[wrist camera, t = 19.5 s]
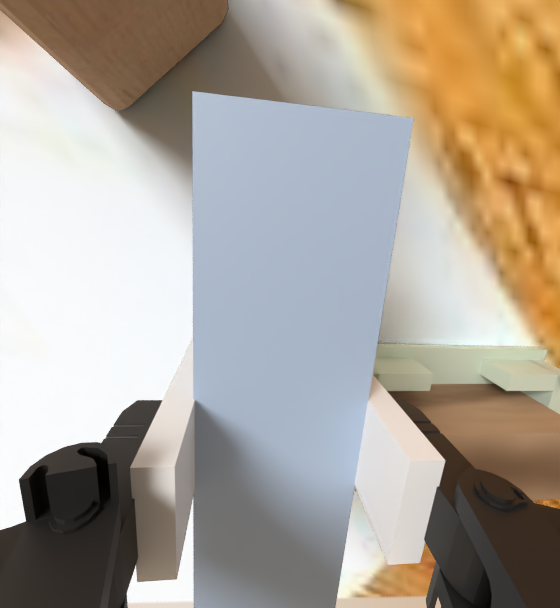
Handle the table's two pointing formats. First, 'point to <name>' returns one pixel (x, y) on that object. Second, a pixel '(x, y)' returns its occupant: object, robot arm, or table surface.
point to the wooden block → (117, 39)
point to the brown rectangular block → (497, 432)
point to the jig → (468, 369)
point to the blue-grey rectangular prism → (284, 337)
